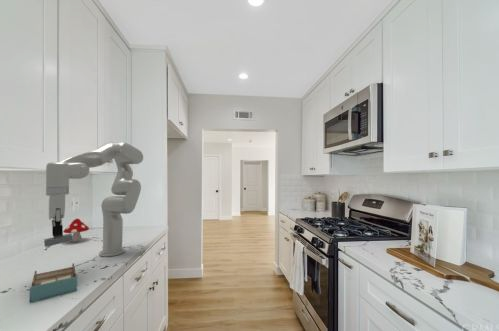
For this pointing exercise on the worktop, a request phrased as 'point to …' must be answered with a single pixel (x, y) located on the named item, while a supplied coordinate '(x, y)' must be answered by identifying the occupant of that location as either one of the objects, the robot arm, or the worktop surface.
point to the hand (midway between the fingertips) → (57, 234)
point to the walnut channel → (53, 275)
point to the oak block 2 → (63, 277)
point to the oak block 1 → (47, 281)
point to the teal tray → (53, 289)
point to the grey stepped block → (57, 239)
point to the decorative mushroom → (76, 229)
